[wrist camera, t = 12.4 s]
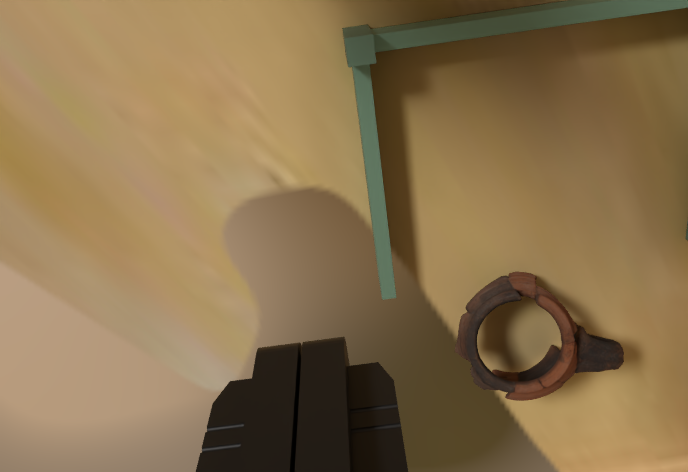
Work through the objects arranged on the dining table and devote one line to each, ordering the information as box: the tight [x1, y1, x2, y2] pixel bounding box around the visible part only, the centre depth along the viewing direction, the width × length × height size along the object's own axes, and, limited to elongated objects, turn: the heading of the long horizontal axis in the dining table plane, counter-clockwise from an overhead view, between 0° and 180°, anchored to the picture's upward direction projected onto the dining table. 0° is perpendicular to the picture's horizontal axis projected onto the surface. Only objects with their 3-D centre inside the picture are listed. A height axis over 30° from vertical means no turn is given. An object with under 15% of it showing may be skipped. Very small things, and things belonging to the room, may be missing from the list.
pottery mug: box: [455, 272, 624, 400], centre depth 46 cm, size 12×9×8 cm
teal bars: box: [342, 0, 688, 299], centre depth 40 cm, size 18×25×5 cm
